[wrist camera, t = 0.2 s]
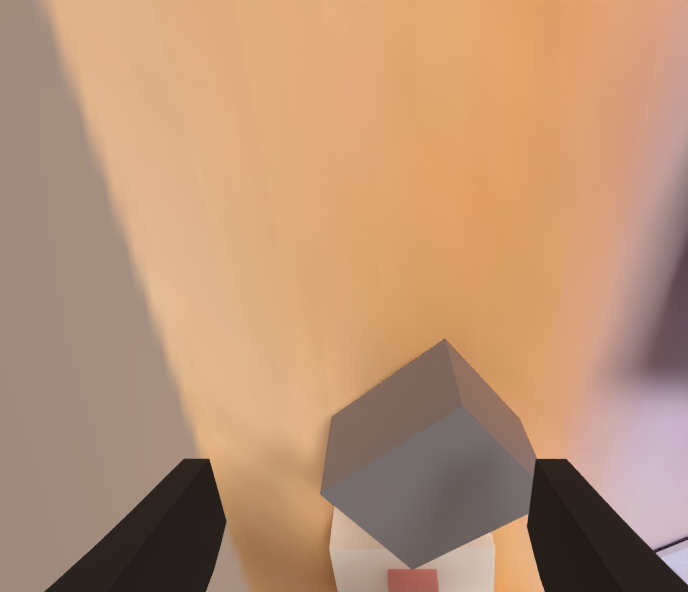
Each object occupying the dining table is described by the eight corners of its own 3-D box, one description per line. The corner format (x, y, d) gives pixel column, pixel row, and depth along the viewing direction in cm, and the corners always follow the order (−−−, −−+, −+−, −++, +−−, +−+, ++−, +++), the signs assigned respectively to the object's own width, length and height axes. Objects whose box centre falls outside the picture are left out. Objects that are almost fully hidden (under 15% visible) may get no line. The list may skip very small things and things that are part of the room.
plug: (506, 389, 20) (555, 500, 14) (404, 451, 22) (412, 570, 16) (438, 315, 18) (462, 405, 13) (336, 388, 20) (320, 494, 15)
